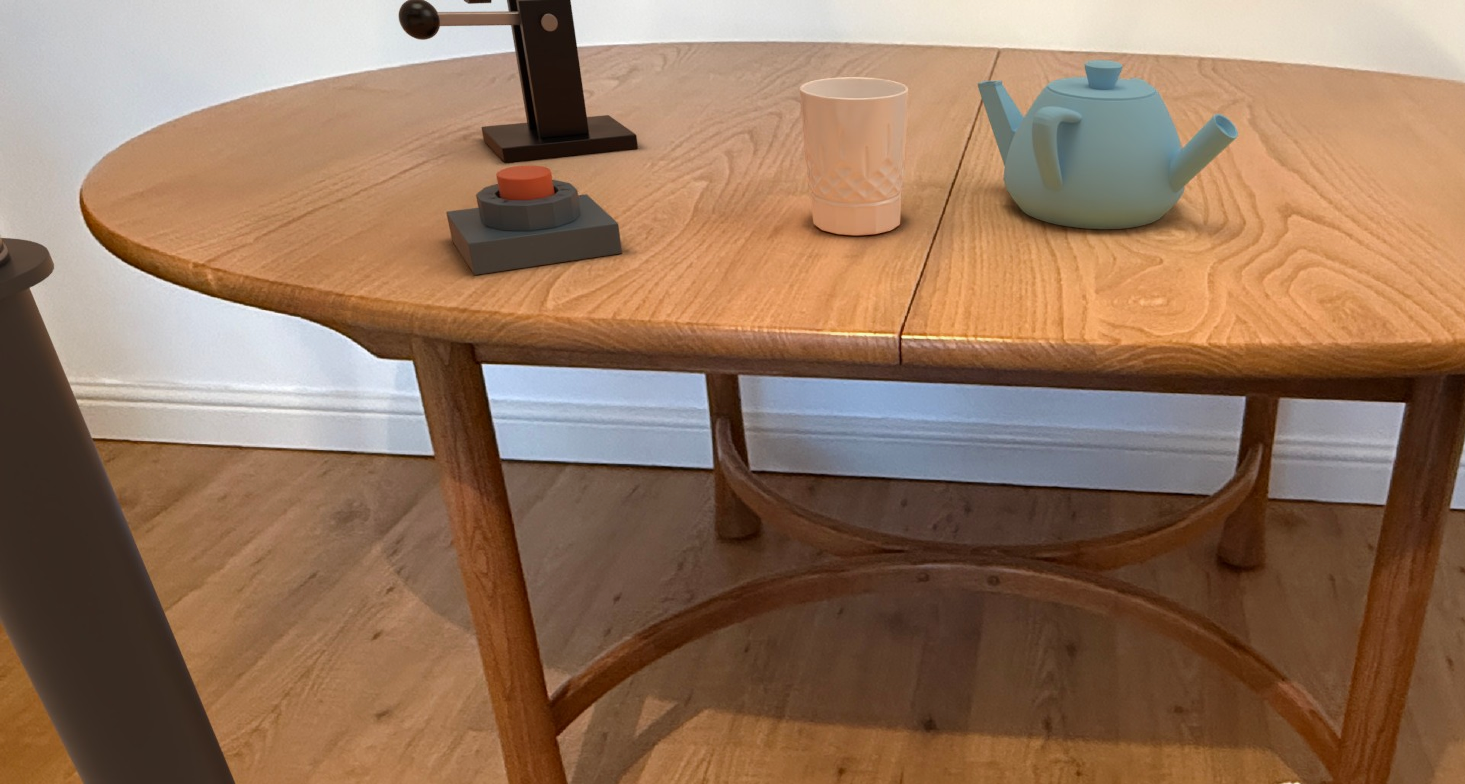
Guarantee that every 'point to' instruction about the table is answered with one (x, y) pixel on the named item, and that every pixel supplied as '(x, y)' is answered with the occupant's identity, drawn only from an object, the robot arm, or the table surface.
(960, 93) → the table surface
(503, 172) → the button
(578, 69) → the bracket
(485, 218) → the button block
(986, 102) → the teapot
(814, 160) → the peach cup
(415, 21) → the tap lever
